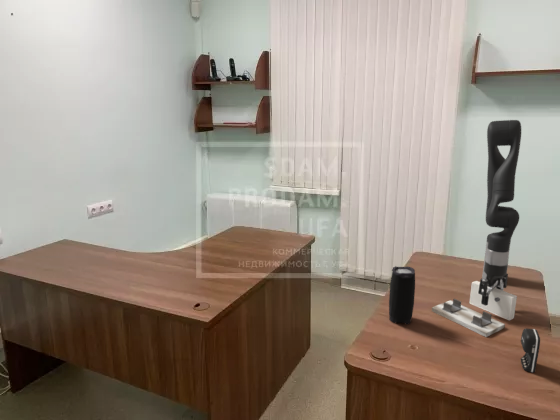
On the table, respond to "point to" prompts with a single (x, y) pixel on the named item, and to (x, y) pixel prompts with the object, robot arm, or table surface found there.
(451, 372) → the table surface
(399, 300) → the portable speaker
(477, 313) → the cabinet side
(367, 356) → the table surface
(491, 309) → the door
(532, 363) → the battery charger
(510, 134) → the robot arm
